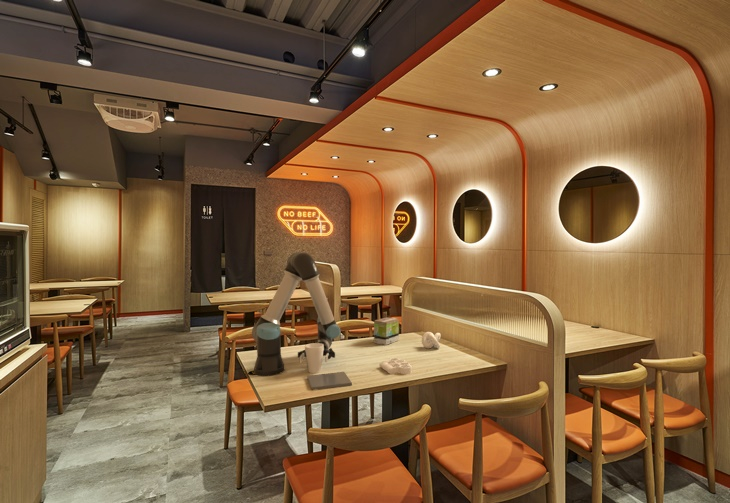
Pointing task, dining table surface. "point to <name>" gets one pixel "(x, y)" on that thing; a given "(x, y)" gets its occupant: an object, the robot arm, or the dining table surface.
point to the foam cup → (314, 356)
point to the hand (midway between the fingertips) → (313, 359)
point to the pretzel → (431, 340)
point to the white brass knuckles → (396, 366)
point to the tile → (329, 380)
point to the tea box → (386, 330)
